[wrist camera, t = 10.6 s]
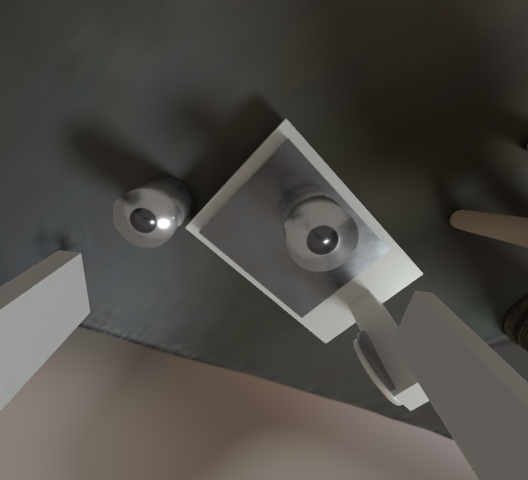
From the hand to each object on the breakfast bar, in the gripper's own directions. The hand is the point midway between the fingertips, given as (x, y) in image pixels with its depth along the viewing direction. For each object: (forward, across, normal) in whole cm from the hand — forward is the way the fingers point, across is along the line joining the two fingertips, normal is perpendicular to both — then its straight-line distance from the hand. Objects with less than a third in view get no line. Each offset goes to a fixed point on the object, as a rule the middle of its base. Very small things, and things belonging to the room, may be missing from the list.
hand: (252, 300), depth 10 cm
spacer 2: (+15, +5, 0) cm, 15 cm away
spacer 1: (+19, -9, -2) cm, 21 cm away
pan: (+15, +5, -3) cm, 16 cm away
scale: (+18, +6, -5) cm, 20 cm away
